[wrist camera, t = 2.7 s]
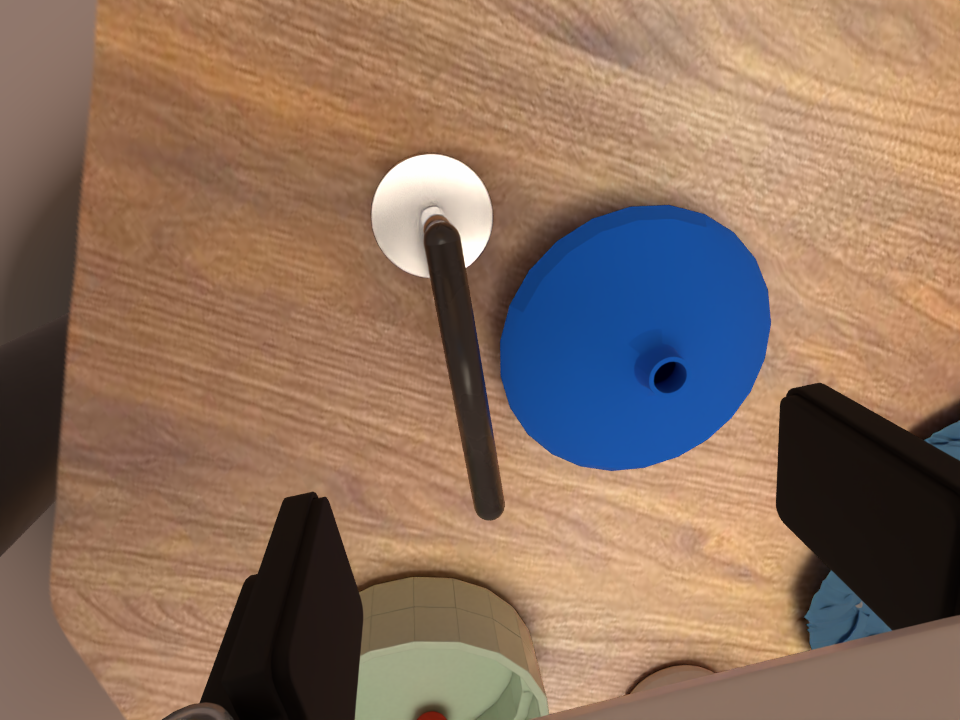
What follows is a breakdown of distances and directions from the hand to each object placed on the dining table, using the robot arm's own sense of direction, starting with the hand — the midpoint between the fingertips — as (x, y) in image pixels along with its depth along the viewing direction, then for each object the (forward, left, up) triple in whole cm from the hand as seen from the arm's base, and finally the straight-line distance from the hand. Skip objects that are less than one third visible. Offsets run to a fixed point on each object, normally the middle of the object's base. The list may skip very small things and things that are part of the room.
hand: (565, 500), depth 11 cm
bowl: (-8, -28, -22) cm, 37 cm away
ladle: (-1, -1, -22) cm, 22 cm away
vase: (+9, -5, -22) cm, 24 cm away
